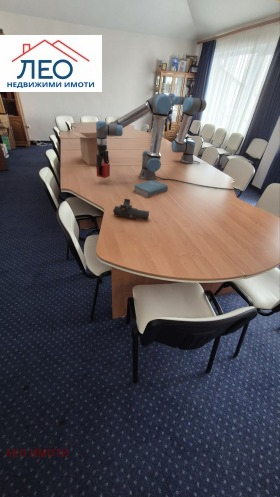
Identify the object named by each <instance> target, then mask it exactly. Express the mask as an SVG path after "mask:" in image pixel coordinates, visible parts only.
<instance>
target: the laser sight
mask: <svg viewBox="0 0 280 497" xmlns="http://www.w3.org/2000/svg"><path fill="white" fill-rule="evenodd" d="M112 213H113V215H114V216H115V217H116V216H117V217H119V218H127V219H131V220H132V219H133V220H136V219H137V220H142V221H143V220H145V221H149V217H150V210H149V211H148V210H143V209H138V208H135V207H133V205H131V199H130V198H124V199H123V204H120V205H119V206H118V205H115V206H114V208H113V210H112Z"/></svg>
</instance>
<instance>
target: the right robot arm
mask: <svg viewBox="0 0 280 497" xmlns="http://www.w3.org/2000/svg"><path fill="white" fill-rule="evenodd" d="M168 96H169V97H170V99H171V102H172V106H171V109H170V111H169V113H168V117H167V118H166V119H165V124H164V132H165V133H166V132H168V131H171V130H172V125H173V114H174V110H175V106H182V109H181V110H182V113H183V116H182V120H181V123H180V125H179V126H180V127H179V131H178V133H177V136H176V137H175V139H174V140H173V141H171V144H170V145H171V146H170V147H171V151H172V152H173V153H175V154H176V153H182V155H181V157H180V159H179V162H180V163H183V164H187V165H188V164H191V165H192V164H194V163H197V164H200V163H201V162H200V161H197V160H195V159H194V153H195V148H196V141H195V140H191V139H187V138H186V137H187V135H188V131H189V129H190V125H191V122H192V119H193V117H195V115H196V113H203V112H204V111H205V110H206V109H207V105H208V104H207V100H205V98H202V97H192V96H191V97H190V96H178V95H176V93H168Z"/></svg>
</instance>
